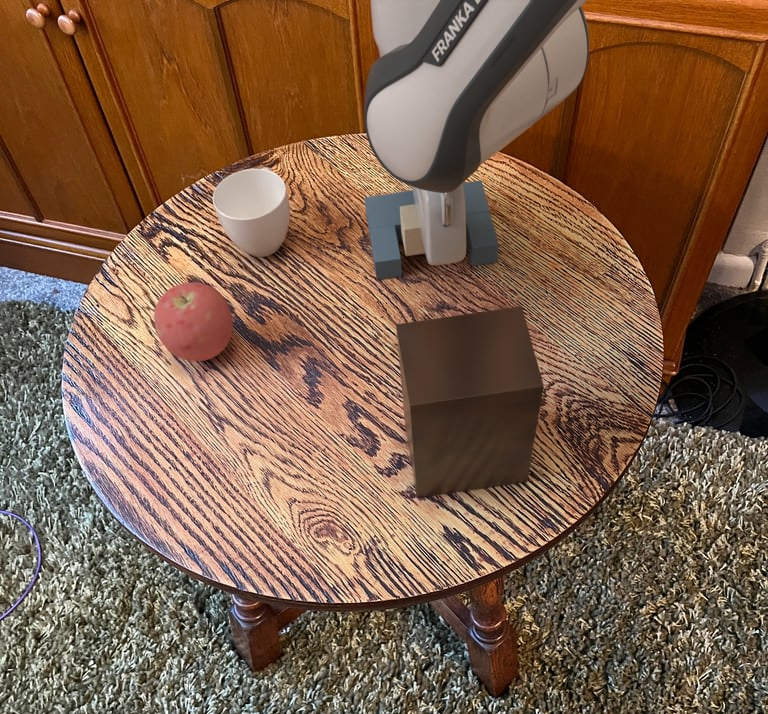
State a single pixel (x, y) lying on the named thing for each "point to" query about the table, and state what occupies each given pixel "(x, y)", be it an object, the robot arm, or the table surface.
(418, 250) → the beige block
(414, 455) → the block
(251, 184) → the cup
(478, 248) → the u-shaped bracket
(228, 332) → the apple
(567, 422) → the table surface
